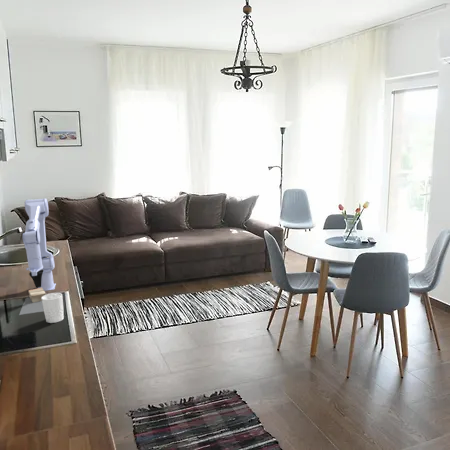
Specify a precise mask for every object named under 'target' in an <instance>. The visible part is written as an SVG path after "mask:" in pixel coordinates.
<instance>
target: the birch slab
mask: <svg viewBox="0 0 450 450" xmlns="http://www.w3.org/2000/svg"><path fill="white" fill-rule="evenodd" d="M44 295H47V293H46V291H44V290H43V288H38V287H37V288H34V289H29V290H28V296H29V297H30V299H31V301H32V302H38V301H42V299H41V298H42V297H43V296H44Z"/></svg>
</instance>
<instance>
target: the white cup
mask: <svg viewBox="0 0 450 450" xmlns="http://www.w3.org/2000/svg"><path fill="white" fill-rule="evenodd" d="M63 298H64V297H63V294H62V292H51V293H48V294H47V293H46V295H44V296H43V297H42V298H41V299H42V304H43V309H44V311H43V313H44V317H45V322H46V323H49V324H53V323H59V322H61V321H63V320H64V318H65V315H64V313H65V312H64V300H63Z"/></svg>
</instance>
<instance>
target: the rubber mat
mask: <svg viewBox="0 0 450 450" xmlns="http://www.w3.org/2000/svg"><path fill="white" fill-rule="evenodd" d="M41 312H42V313H44V309H43V304H42V301H38V302H32V301H31V299H30V297H25V299H24V301H23V304H22V306H21V309H20V311H19V314H18V315H19V316H21V315H28V314H35V313H41Z"/></svg>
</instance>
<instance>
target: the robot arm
mask: <svg viewBox="0 0 450 450" xmlns="http://www.w3.org/2000/svg"><path fill="white" fill-rule="evenodd" d="M24 209H25V212H26V214H27V216H28V218H29V219H28V220H27V221H26V223H25V228H24V229H25V231H24V232H23V233H22V242H23V245H24V249H25V252H26V257H27V265H28V267H26V268H25V270H26V271H29V272H28V275H29V276H30V278H31V279H32V281H33V283H34V286H35V289H38V288H43V290H44V291H45V292H46V291H54V290H55V289H56V285H57V283H54V282H55V281H54V276H53V271H54V269H55V259H54V255H53V253H52V252H49V251H48V249H47V248H48V247H47V237H46V236H47V234H46V223H45V221H46V218H47V217H48V216H49V213H50V212H49V202H48V199H47V198H46V197H45V198H36V199H35V198H34V199H33V198H32V199H26V200H25V201H24Z"/></svg>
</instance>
